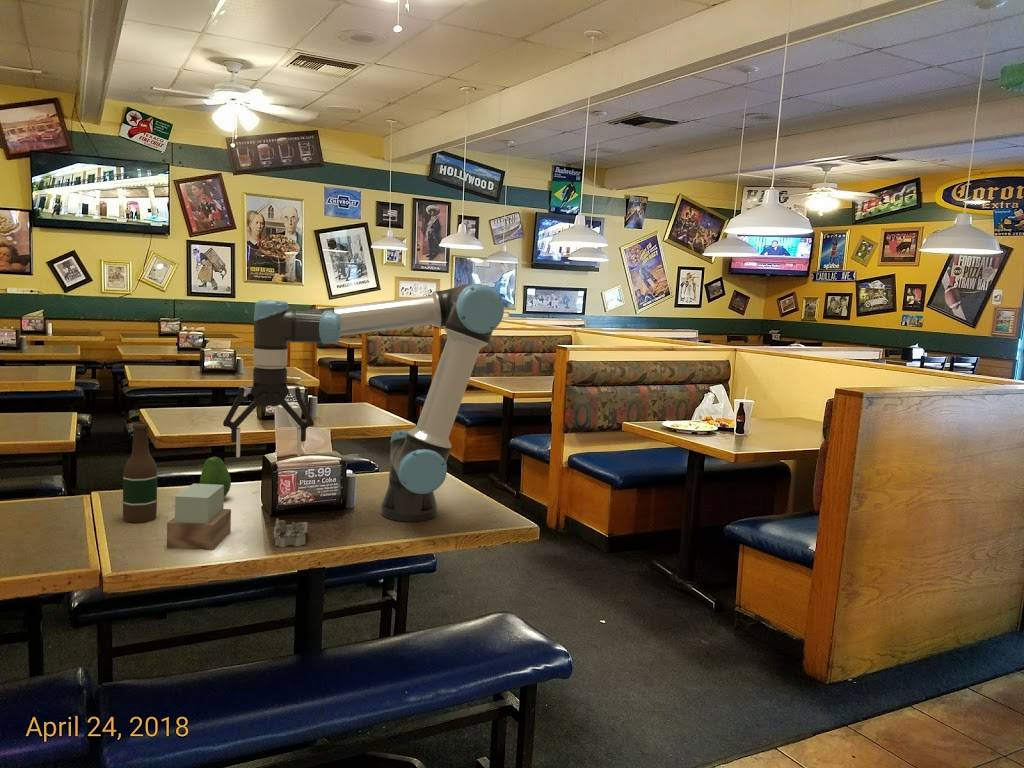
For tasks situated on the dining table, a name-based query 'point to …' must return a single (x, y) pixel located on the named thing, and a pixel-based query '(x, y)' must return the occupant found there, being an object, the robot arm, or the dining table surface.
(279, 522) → the egg carton
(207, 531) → the tower base block
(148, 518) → the beer bottle
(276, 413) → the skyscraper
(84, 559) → the dining table surface
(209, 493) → the tower top block
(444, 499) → the dining table surface
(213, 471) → the fruit
